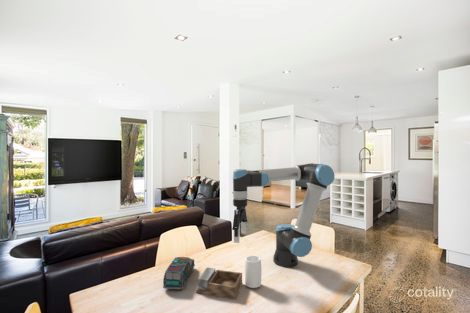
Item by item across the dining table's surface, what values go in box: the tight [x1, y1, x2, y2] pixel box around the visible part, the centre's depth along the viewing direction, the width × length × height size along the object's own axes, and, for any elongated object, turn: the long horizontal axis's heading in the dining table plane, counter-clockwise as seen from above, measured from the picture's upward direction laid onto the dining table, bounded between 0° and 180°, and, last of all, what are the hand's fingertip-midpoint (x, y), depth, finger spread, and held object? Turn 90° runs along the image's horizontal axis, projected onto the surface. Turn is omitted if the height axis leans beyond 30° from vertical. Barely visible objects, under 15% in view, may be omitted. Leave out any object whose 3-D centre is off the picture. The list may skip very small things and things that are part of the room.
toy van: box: [162, 256, 196, 290], centre depth 130 cm, size 11×25×10 cm, turn 176°
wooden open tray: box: [195, 267, 243, 300], centre depth 121 cm, size 20×14×6 cm
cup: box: [244, 255, 262, 289], centre depth 123 cm, size 8×8×14 cm
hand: (240, 237), depth 128 cm, fingers open, 13 cm apart
